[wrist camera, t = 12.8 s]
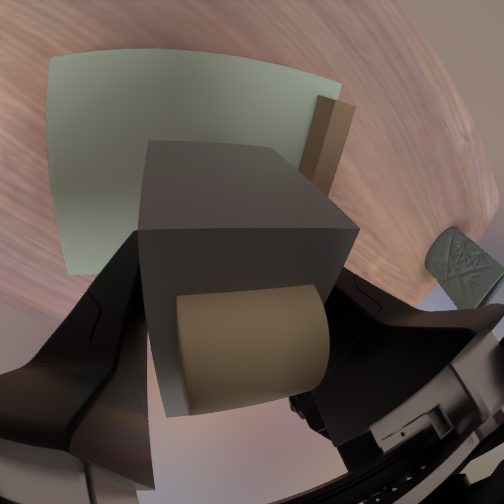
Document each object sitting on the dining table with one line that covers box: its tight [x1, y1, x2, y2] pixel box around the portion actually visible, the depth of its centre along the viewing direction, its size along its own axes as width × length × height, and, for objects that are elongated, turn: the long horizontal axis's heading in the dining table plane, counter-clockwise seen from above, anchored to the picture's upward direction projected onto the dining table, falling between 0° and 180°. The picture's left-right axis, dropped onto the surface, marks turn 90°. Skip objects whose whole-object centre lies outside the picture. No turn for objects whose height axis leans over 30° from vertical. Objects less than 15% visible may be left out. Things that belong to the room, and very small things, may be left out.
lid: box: [46, 49, 355, 275], centre depth 12 cm, size 12×14×3 cm
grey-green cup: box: [425, 227, 504, 310], centre depth 33 cm, size 10×10×12 cm
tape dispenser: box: [138, 141, 360, 417], centre depth 8 cm, size 8×4×7 cm, turn 169°
